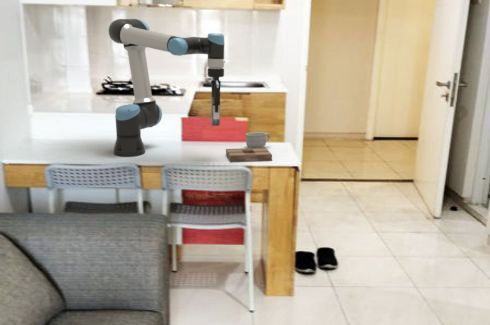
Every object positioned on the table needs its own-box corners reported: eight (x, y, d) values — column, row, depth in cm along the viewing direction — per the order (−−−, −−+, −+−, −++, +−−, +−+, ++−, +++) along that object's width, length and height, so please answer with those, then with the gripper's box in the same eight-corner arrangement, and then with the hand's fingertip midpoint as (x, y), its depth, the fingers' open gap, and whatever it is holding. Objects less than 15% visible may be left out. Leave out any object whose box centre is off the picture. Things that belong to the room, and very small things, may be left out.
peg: (210, 124, 252) (210, 97, 249) (219, 124, 253) (219, 96, 249) (211, 125, 248) (212, 98, 245) (220, 125, 249) (220, 98, 246)
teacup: (249, 151, 270) (249, 136, 268) (242, 146, 280) (242, 131, 278) (274, 149, 275) (275, 134, 272) (267, 145, 284) (267, 130, 282)
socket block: (225, 154, 262) (226, 148, 262) (265, 153, 266) (265, 147, 265) (230, 162, 249) (230, 155, 248) (271, 160, 253) (272, 154, 252)
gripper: (226, 69, 236) (226, 121, 242) (221, 66, 252) (220, 114, 258) (210, 69, 235) (209, 121, 241) (205, 66, 251) (205, 115, 257)
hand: (215, 118), depth 250 cm, fingers closed on peg, 4 cm apart
